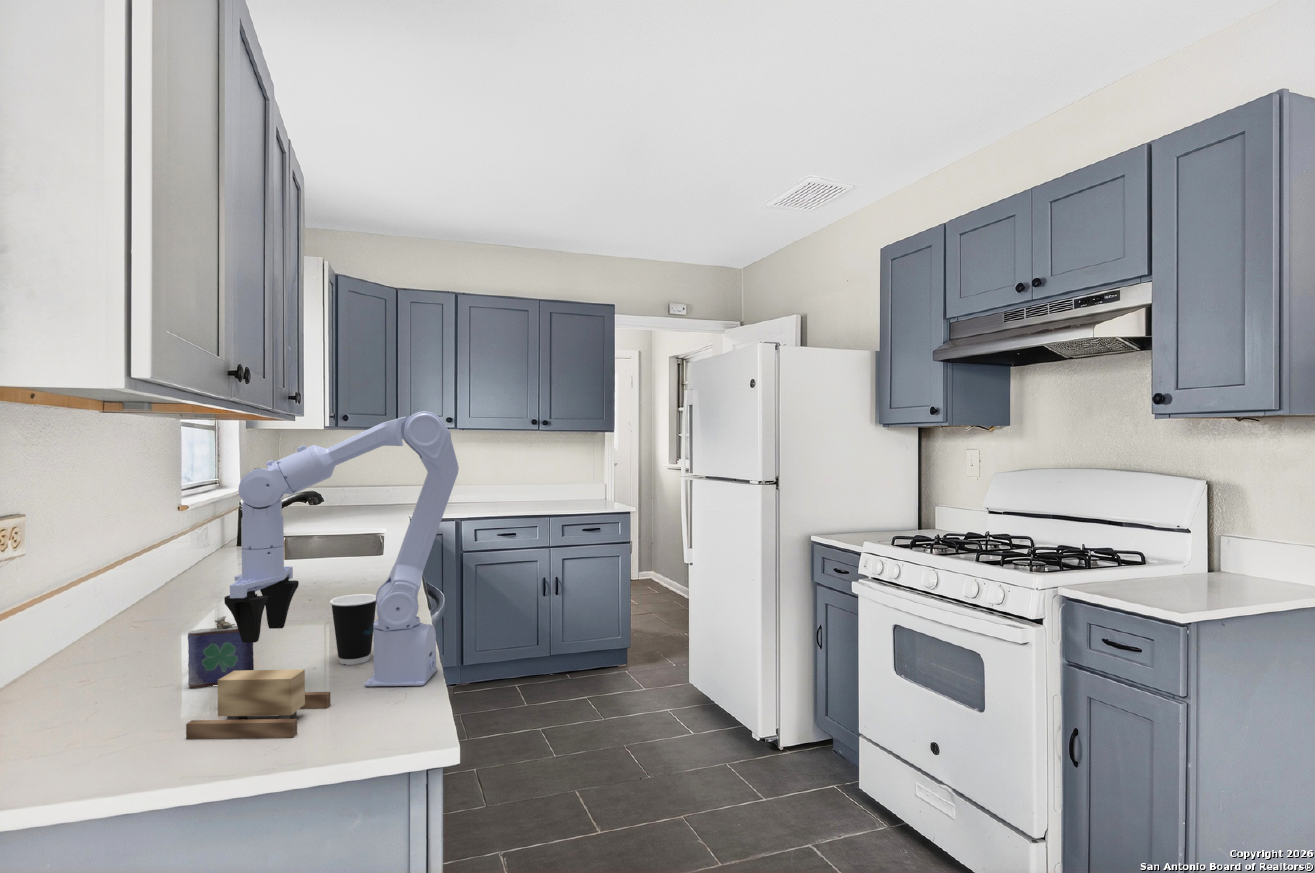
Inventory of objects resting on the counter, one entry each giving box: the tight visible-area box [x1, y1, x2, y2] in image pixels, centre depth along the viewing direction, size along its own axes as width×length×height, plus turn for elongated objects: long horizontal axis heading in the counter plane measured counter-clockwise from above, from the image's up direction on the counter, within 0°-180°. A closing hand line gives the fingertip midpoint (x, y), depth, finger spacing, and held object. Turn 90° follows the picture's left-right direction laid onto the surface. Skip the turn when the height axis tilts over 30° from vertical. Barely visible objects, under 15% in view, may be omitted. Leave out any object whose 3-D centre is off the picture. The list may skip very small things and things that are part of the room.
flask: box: [187, 615, 255, 689], centre depth 117 cm, size 9×3×11 cm, turn 109°
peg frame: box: [185, 691, 331, 740], centre depth 101 cm, size 14×11×2 cm
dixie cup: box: [329, 593, 377, 666], centre depth 128 cm, size 8×8×11 cm
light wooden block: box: [217, 669, 306, 717], centre depth 101 cm, size 10×4×5 cm, turn 92°
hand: (263, 634), depth 111 cm, fingers open, 7 cm apart
